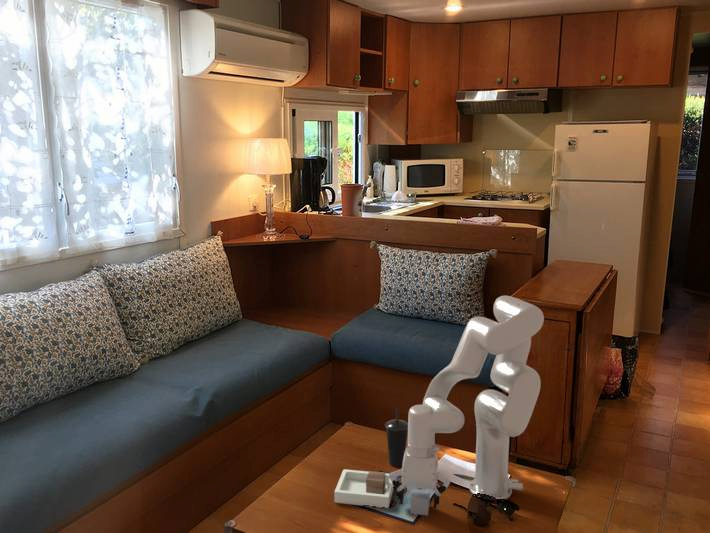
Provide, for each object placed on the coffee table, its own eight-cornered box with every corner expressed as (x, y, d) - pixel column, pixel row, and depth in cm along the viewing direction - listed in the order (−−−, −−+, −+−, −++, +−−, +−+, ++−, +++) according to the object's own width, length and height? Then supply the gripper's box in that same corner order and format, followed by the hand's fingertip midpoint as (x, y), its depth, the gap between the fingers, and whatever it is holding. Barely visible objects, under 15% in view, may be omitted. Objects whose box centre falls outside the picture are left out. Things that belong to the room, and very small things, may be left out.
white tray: (394, 484, 204) (394, 474, 203) (388, 508, 192) (388, 497, 191) (343, 479, 207) (343, 469, 206) (334, 502, 195) (334, 491, 194)
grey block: (429, 506, 193) (429, 490, 192) (427, 515, 188) (428, 500, 187) (412, 504, 194) (412, 488, 193) (410, 513, 189) (410, 498, 188)
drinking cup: (406, 470, 212) (407, 412, 208) (383, 467, 214) (383, 410, 210) (409, 458, 220) (410, 402, 215) (386, 456, 221) (387, 400, 217)
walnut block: (369, 486, 201) (369, 471, 200) (385, 487, 200) (385, 472, 199) (366, 494, 197) (366, 479, 196) (382, 496, 196) (382, 481, 195)
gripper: (452, 446, 189) (449, 500, 192) (391, 439, 192) (390, 493, 195) (450, 458, 182) (448, 514, 185) (388, 451, 185) (386, 507, 188)
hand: (418, 503), depth 190 cm, fingers open, 9 cm apart
